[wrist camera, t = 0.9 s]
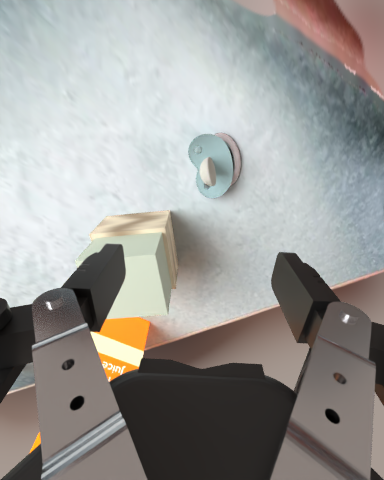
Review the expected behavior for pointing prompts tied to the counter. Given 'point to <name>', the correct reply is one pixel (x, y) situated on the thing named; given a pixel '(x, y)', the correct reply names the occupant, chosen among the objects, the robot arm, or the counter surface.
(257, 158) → the counter surface
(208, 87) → the counter surface
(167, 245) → the maple block
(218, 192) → the pacifier
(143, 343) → the orange juice
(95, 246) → the sage block
